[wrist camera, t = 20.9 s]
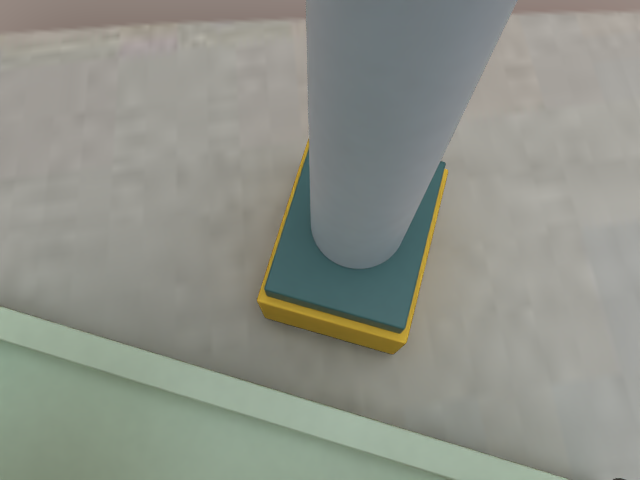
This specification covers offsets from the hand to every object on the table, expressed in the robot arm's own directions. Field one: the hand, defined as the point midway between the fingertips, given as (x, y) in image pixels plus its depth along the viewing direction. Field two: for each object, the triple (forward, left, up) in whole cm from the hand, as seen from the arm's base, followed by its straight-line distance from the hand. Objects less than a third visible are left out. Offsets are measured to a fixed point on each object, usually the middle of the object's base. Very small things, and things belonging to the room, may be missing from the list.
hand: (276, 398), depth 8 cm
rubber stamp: (+4, +3, -10) cm, 11 cm away
